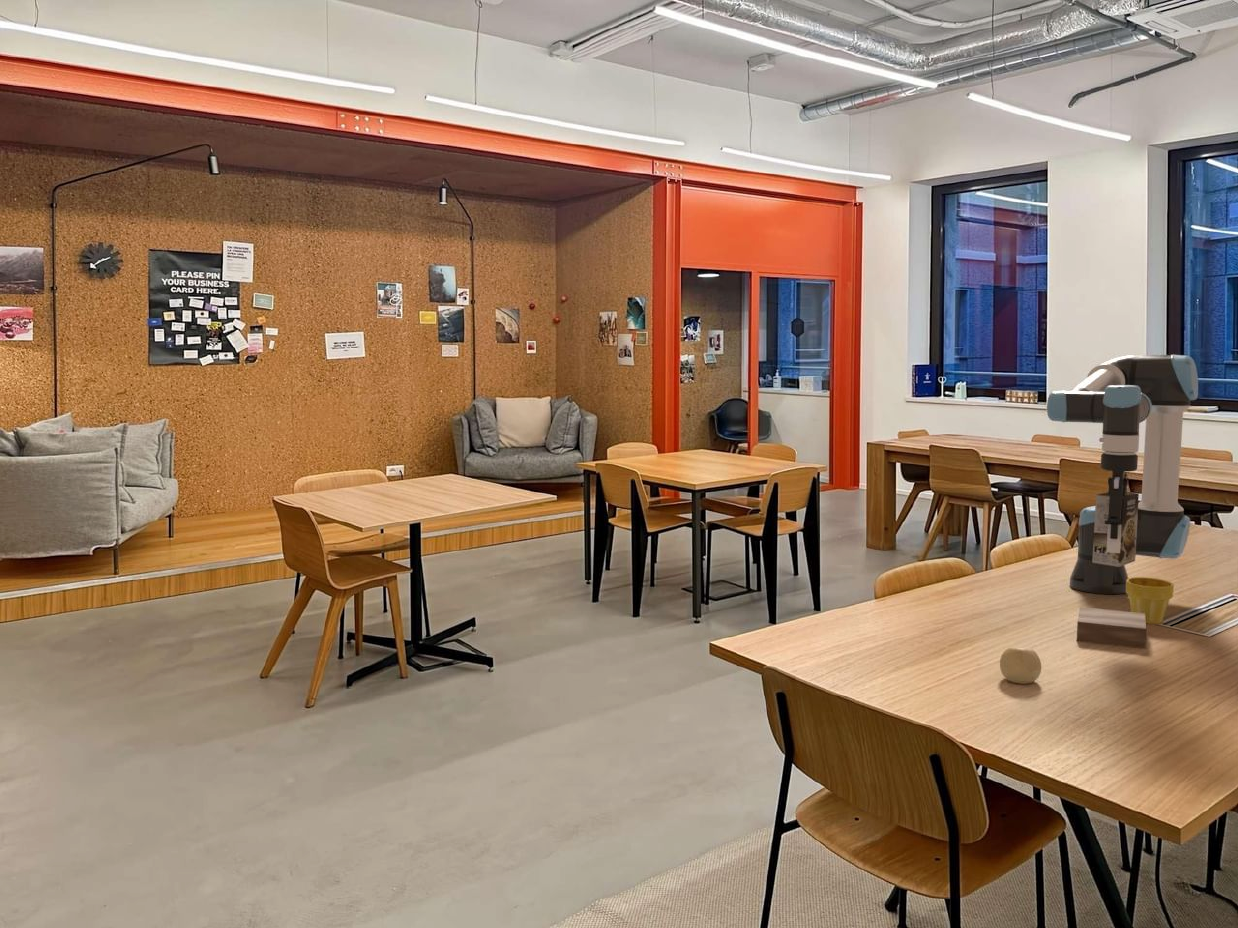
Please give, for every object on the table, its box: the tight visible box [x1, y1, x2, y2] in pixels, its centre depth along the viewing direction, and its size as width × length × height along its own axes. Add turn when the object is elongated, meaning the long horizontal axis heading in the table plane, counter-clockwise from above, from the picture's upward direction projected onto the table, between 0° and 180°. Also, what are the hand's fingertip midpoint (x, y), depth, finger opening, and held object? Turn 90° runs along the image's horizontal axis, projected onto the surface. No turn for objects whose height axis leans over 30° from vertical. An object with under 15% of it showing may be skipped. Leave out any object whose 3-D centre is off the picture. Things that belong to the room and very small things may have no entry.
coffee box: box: [1092, 491, 1140, 567], centre depth 229 cm, size 9×6×16 cm
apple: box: [999, 647, 1042, 685], centre depth 202 cm, size 8×8×8 cm
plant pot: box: [1125, 576, 1174, 625], centre depth 244 cm, size 10×10×10 cm
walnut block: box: [1076, 606, 1147, 650], centre depth 232 cm, size 14×14×5 cm
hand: (1114, 548), depth 229 cm, fingers closed on coffee box, 10 cm apart
